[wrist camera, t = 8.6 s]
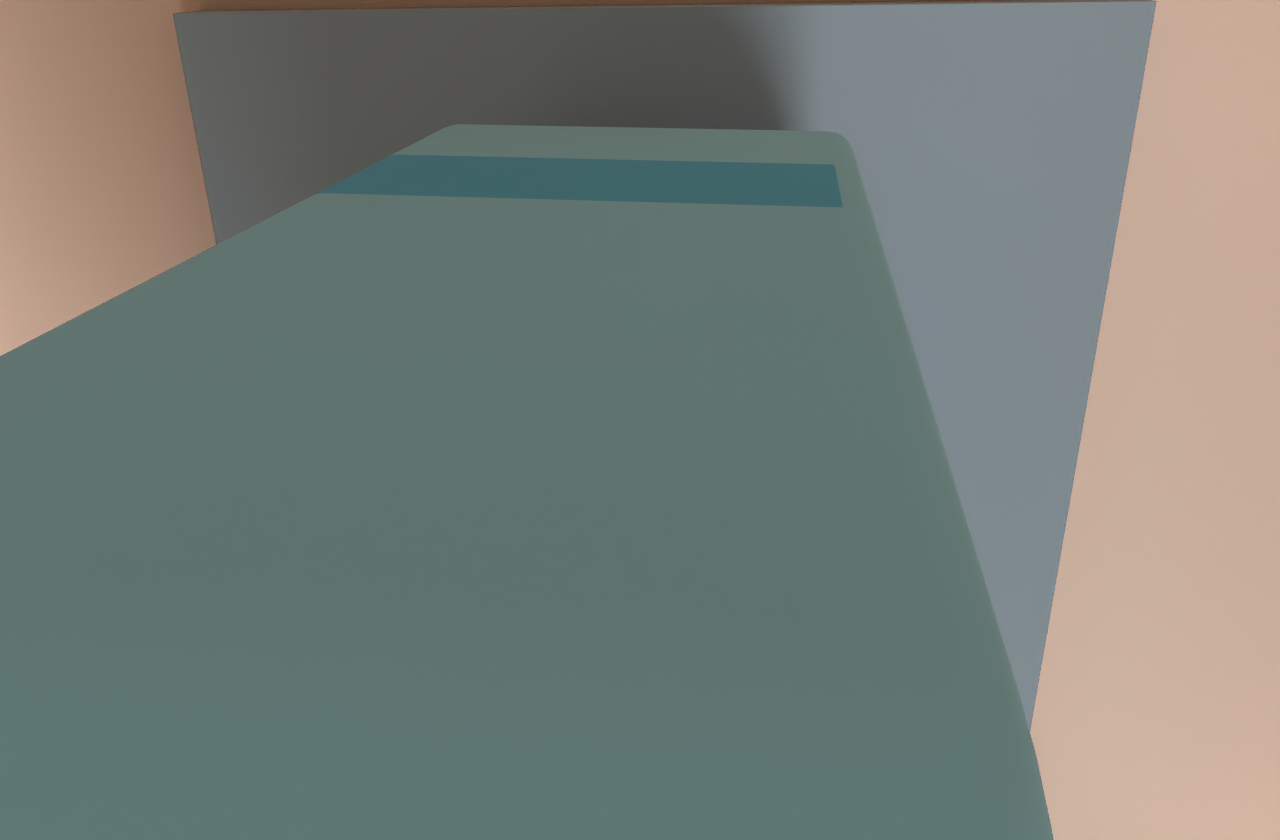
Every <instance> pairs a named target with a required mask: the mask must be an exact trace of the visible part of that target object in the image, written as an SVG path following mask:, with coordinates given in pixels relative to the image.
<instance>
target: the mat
mask: <svg viewBox="0 0 1280 840" xmlns="http://www.w3.org/2000/svg"><path fill="white" fill-rule="evenodd" d="M1155 7H1156V1H1152V0H1012V1H934V2H857V3H779V4H702V5H624V6H546V7H469V8H391V9H314V10H236V11H192V12H183V13H174V14H173V17H174V22H175V27H176V33H177V38H178V43H179V48H180V54H181V59H182V64H183V70H184V75H185V80H186V86H187V91H188V96H189V101H190V107H191V112H192V117H193V123H194V128H195V133H196V138H197V144H198V149H199V154H200V160H201V165H202V170H203V176H204V181H205V186H206V191H207V197H208V202H209V207H210V213H211V218H212V223H213V228H214V234H215V239H216V244H219V243H221V242H223V241H225V240H227V239H229V238H231V237H233V236H235V235H237V234H239V233H241V232H243V231H245V230H247V229H249V228H250V227H252V226H254V225H256V224H258V223H260V222H262V221H264V220H266V219H268V218H270V217H272V216H274V215H276V214H278V213H280V212H282V211H284V210H285V209H287V208H289V207H291V206H293V205H295V204H297V203H299V202H301V201H303V200H305V199H307V198H309V197H311V196H313V195H315V194H317V193H318V192H320V191H322V190H324V189H326V188H328V187H330V186H332V185H334V184H336V183H338V182H340V181H342V180H344V179H346V178H348V177H350V176H352V175H353V174H355V173H357V172H359V171H361V170H363V169H365V168H367V167H369V166H371V165H373V164H375V163H377V162H379V161H381V160H383V159H385V158H386V157H388V156H390V155H392V154H394V153H396V152H398V151H400V150H402V149H404V148H406V147H408V146H410V145H412V144H414V143H416V142H418V141H420V140H421V139H423V138H425V137H427V136H429V135H431V134H433V133H435V132H437V131H439V130H441V129H443V128H445V127H448V126H452V125H456V124H475V125H528V126H581V127H634V128H686V129H739V130H792V131H831V132H835V133H838V134H840V135H842V136H843V137H844V138H845V139H846V140H847V141H848V142H849V143H850V145H851V147H852V149H853V151H854V155H855V158H856V161H857V164H858V168H859V171H860V174H861V178H862V181H863V184H864V187H865V191H866V194H867V197H868V200H869V204H870V207H871V210H872V213H873V217H874V220H875V223H876V227H877V230H878V233H879V236H880V240H881V243H882V246H883V249H884V253H885V256H886V259H887V263H888V266H889V269H890V272H891V276H892V279H893V282H894V285H895V289H896V292H897V295H898V298H899V302H900V305H901V308H902V312H903V315H904V318H905V321H906V325H907V328H908V331H909V334H910V338H911V341H912V344H913V348H914V351H915V354H916V357H917V361H918V364H919V367H920V370H921V374H922V377H923V380H924V383H925V387H926V390H927V393H928V397H929V400H930V403H931V406H932V410H933V413H934V416H935V419H936V423H937V426H938V429H939V433H940V436H941V439H942V442H943V446H944V449H945V452H946V455H947V459H948V462H949V465H950V469H951V472H952V475H953V478H954V482H955V485H956V488H957V491H958V495H959V498H960V501H961V504H962V508H963V511H964V514H965V518H966V521H967V524H968V527H969V531H970V534H971V537H972V540H973V544H974V547H975V550H976V554H977V557H978V560H979V563H980V567H981V570H982V573H983V576H984V580H985V583H986V586H987V589H988V593H989V596H990V599H991V603H992V606H993V609H994V612H995V616H996V619H997V622H998V625H999V629H1000V632H1001V635H1002V639H1003V642H1004V645H1005V648H1006V652H1007V655H1008V658H1009V661H1010V665H1011V668H1012V671H1013V674H1014V678H1015V681H1016V684H1017V688H1018V691H1019V694H1020V698H1021V701H1022V705H1023V709H1024V712H1025V716H1026V720H1027V724H1028V727H1029V731H1030V728H1031V722H1032V717H1033V711H1034V705H1035V699H1036V693H1037V688H1038V682H1039V676H1040V670H1041V665H1042V659H1043V653H1044V647H1045V642H1046V636H1047V630H1048V624H1049V618H1050V613H1051V607H1052V601H1053V595H1054V590H1055V584H1056V578H1057V572H1058V566H1059V561H1060V555H1061V549H1062V543H1063V538H1064V532H1065V526H1066V520H1067V515H1068V509H1069V503H1070V497H1071V491H1072V486H1073V480H1074V474H1075V468H1076V463H1077V457H1078V451H1079V445H1080V440H1081V434H1082V428H1083V422H1084V416H1085V411H1086V405H1087V399H1088V393H1089V388H1090V382H1091V376H1092V370H1093V364H1094V359H1095V353H1096V347H1097V341H1098V336H1099V330H1100V324H1101V318H1102V313H1103V307H1104V301H1105V295H1106V289H1107V284H1108V278H1109V272H1110V266H1111V261H1112V255H1113V249H1114V243H1115V237H1116V232H1117V226H1118V220H1119V214H1120V209H1121V203H1122V197H1123V191H1124V186H1125V180H1126V174H1127V168H1128V162H1129V157H1130V151H1131V145H1132V139H1133V134H1134V128H1135V122H1136V116H1137V111H1138V105H1139V99H1140V93H1141V87H1142V82H1143V76H1144V70H1145V64H1146V59H1147V53H1148V47H1149V41H1150V35H1151V30H1152V24H1153V18H1154V12H1155Z"/></svg>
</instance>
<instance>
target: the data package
mask: <svg viewBox="0 0 1280 840" xmlns="http://www.w3.org/2000/svg"><path fill="white" fill-rule="evenodd" d="M0 840H1053V834H1052V828H1051V823H1050V819H1049V814H1048V809H1047V805H1046V800H1045V795H1044V790H1043V786H1042V781H1041V776H1040V772H1039V767H1038V762H1037V758H1036V754H1035V750H1034V746H1033V742H1032V738H1031V735H1030V731H1029V727H1028V724H1027V720H1026V716H1025V712H1024V709H1023V705H1022V701H1021V698H1020V694H1019V691H1018V688H1017V684H1016V681H1015V678H1014V674H1013V671H1012V668H1011V665H1010V661H1009V658H1008V655H1007V652H1006V648H1005V645H1004V642H1003V639H1002V635H1001V632H1000V629H999V625H998V622H997V619H996V616H995V612H994V609H993V606H992V603H991V599H990V596H989V593H988V589H987V586H986V583H985V580H984V576H983V573H982V570H981V567H980V563H979V560H978V557H977V554H976V550H975V547H974V544H973V540H972V537H971V534H970V531H969V527H968V524H967V521H966V518H965V514H964V511H963V508H962V504H961V501H960V498H959V495H958V491H957V488H956V485H955V482H954V478H953V475H952V472H951V469H950V465H949V462H948V459H947V455H946V452H945V449H944V446H943V442H942V439H941V436H940V433H939V429H938V426H937V423H936V419H935V416H934V413H933V410H932V406H931V403H930V400H929V397H928V393H927V390H926V387H925V383H924V380H923V377H922V374H921V370H920V367H919V364H918V361H917V357H916V354H915V351H914V348H913V344H912V341H911V338H910V334H909V331H908V328H907V325H906V321H905V318H904V315H903V312H902V308H901V305H900V302H899V298H898V295H897V292H896V289H895V285H894V282H893V279H892V276H891V272H890V269H889V266H888V263H887V259H886V256H885V253H884V249H883V246H882V243H881V240H880V236H879V233H878V230H877V227H876V223H875V220H874V217H873V213H872V210H871V207H870V204H869V200H868V197H867V194H866V191H865V187H864V184H863V181H862V178H861V174H860V171H859V168H858V164H857V161H856V158H855V155H854V151H853V149H852V147H851V145H850V143H849V142H848V141H847V140H846V139H845V138H844V137H843V136H842V135H840V134H838V133H835V132H831V131H792V130H739V129H686V128H634V127H581V126H528V125H475V124H456V125H452V126H448V127H445V128H443V129H441V130H439V131H437V132H435V133H433V134H431V135H429V136H427V137H425V138H423V139H421V140H420V141H418V142H416V143H414V144H412V145H410V146H408V147H406V148H404V149H402V150H400V151H398V152H396V153H394V154H392V155H390V156H388V157H386V158H385V159H383V160H381V161H379V162H377V163H375V164H373V165H371V166H369V167H367V168H365V169H363V170H361V171H359V172H357V173H355V174H353V175H352V176H350V177H348V178H346V179H344V180H342V181H340V182H338V183H336V184H334V185H332V186H330V187H328V188H326V189H324V190H322V191H320V192H318V193H317V194H315V195H313V196H311V197H309V198H307V199H305V200H303V201H301V202H299V203H297V204H295V205H293V206H291V207H289V208H287V209H285V210H284V211H282V212H280V213H278V214H276V215H274V216H272V217H270V218H268V219H266V220H264V221H262V222H260V223H258V224H256V225H254V226H252V227H250V228H249V229H247V230H245V231H243V232H241V233H239V234H237V235H235V236H233V237H231V238H229V239H227V240H225V241H223V242H221V243H219V244H217V245H216V246H214V247H212V248H210V249H208V250H206V251H204V252H202V253H200V254H198V255H196V256H194V257H192V258H190V259H188V260H186V261H184V262H182V263H181V264H179V265H177V266H175V267H173V268H171V269H169V270H167V271H165V272H163V273H161V274H159V275H157V276H155V277H153V278H151V279H149V280H148V281H146V282H144V283H142V284H140V285H138V286H136V287H134V288H132V289H130V290H128V291H126V292H124V293H122V294H120V295H118V296H116V297H114V298H113V299H111V300H109V301H107V302H105V303H103V304H101V305H99V306H97V307H95V308H93V309H91V310H89V311H87V312H85V313H83V314H81V315H80V316H78V317H76V318H74V319H72V320H70V321H68V322H66V323H64V324H62V325H60V326H58V327H56V328H54V329H52V330H50V331H48V332H46V333H45V334H43V335H41V336H39V337H37V338H35V339H33V340H31V341H29V342H27V343H25V344H23V345H21V346H19V347H17V348H15V349H13V350H12V351H10V352H8V353H6V354H4V355H2V356H0Z"/></svg>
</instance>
